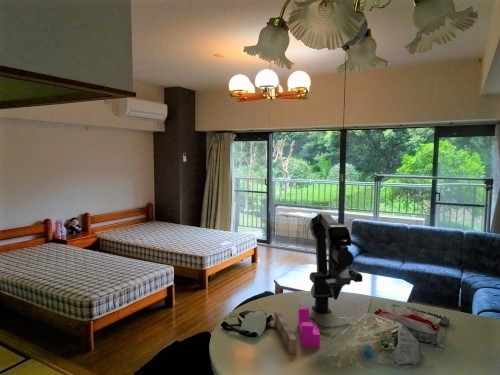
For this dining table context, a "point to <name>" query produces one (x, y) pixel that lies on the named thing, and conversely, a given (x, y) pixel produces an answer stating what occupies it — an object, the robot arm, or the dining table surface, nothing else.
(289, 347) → the batten
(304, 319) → the toy block
